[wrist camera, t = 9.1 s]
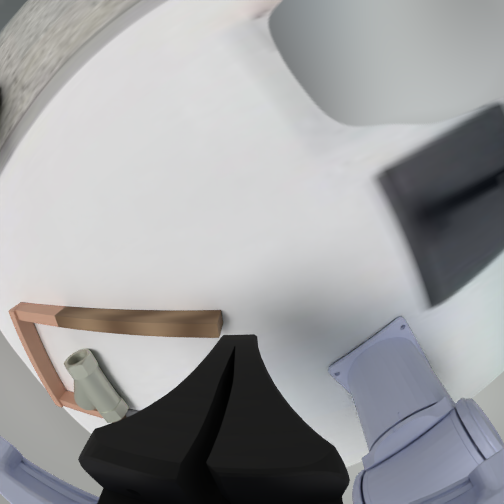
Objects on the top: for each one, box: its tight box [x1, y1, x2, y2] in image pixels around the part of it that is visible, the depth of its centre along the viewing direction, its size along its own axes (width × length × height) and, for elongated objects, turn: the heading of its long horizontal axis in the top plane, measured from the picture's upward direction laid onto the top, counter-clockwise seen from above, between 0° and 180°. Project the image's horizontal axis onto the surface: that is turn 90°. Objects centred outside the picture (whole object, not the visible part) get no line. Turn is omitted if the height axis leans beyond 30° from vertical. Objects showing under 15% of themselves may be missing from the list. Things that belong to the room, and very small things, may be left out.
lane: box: [55, 307, 223, 423], centre depth 23 cm, size 16×20×2 cm
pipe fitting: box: [64, 349, 129, 423], centre depth 23 cm, size 8×4×7 cm
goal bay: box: [9, 302, 103, 418], centre depth 23 cm, size 9×14×2 cm, turn 4°
